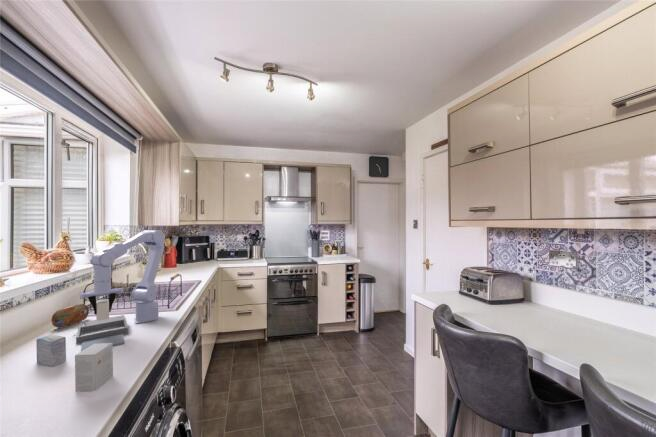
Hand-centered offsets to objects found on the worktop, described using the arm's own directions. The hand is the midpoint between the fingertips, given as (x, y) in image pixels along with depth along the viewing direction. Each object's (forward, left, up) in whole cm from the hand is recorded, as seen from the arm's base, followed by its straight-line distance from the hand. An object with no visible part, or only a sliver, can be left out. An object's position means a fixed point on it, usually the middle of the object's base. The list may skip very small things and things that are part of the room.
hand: (102, 312), depth 124 cm
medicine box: (+14, +20, -10) cm, 26 cm away
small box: (+2, +46, -10) cm, 47 cm away
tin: (+12, -26, -10) cm, 31 cm away
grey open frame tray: (0, -9, -9) cm, 13 cm away
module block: (0, 0, -2) cm, 2 cm away
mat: (0, +11, -9) cm, 15 cm away
